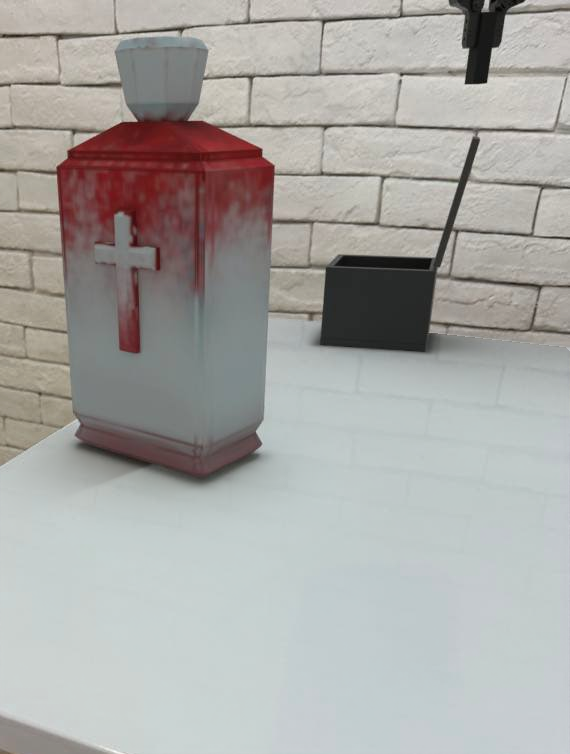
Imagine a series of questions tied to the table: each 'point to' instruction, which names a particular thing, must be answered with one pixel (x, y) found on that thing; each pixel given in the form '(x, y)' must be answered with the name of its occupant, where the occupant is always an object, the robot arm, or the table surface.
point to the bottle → (167, 272)
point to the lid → (457, 200)
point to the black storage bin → (378, 301)
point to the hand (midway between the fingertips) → (475, 83)
